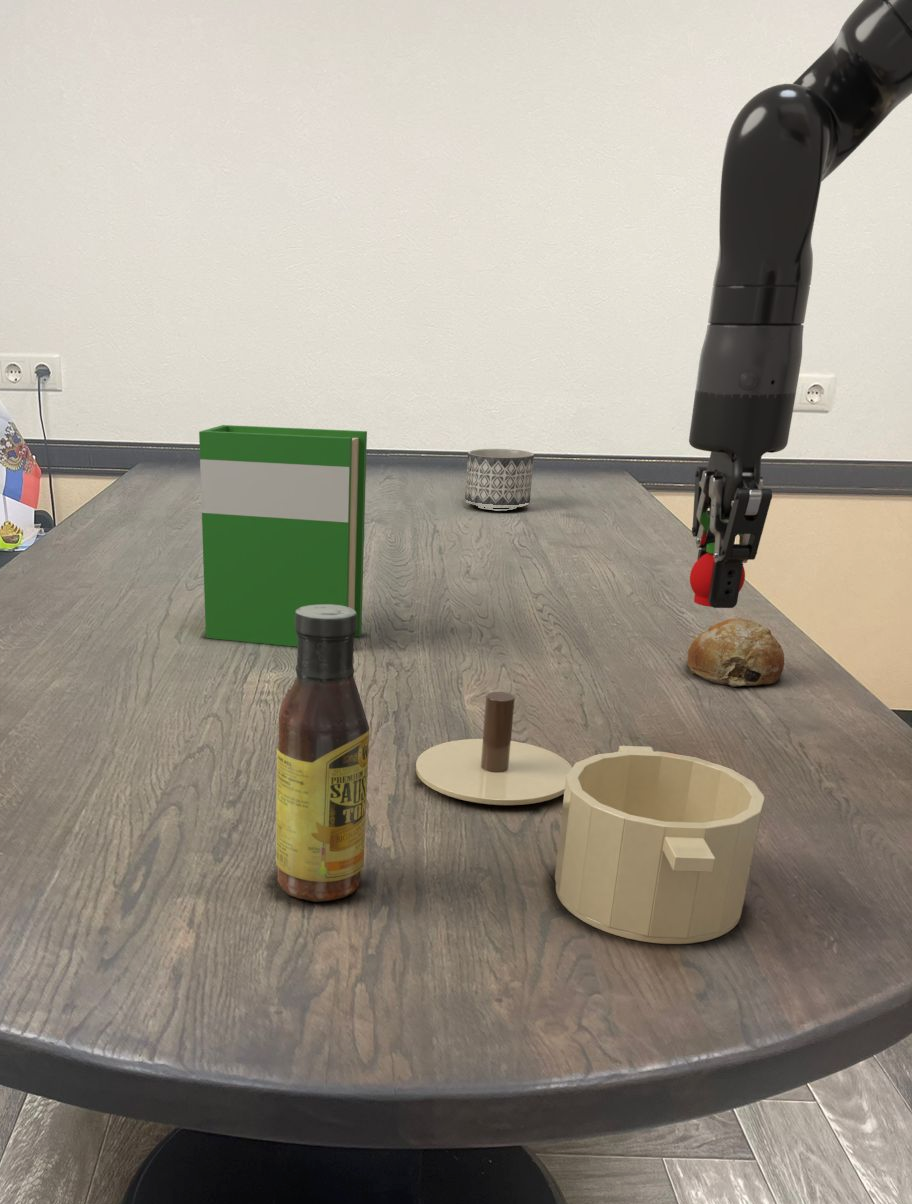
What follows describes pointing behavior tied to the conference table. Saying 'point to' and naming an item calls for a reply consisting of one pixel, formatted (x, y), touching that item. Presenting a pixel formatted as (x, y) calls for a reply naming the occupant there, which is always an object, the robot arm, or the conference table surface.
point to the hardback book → (280, 527)
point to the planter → (499, 476)
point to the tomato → (705, 576)
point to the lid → (494, 763)
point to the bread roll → (736, 654)
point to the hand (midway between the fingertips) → (714, 598)
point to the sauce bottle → (322, 762)
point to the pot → (656, 845)
